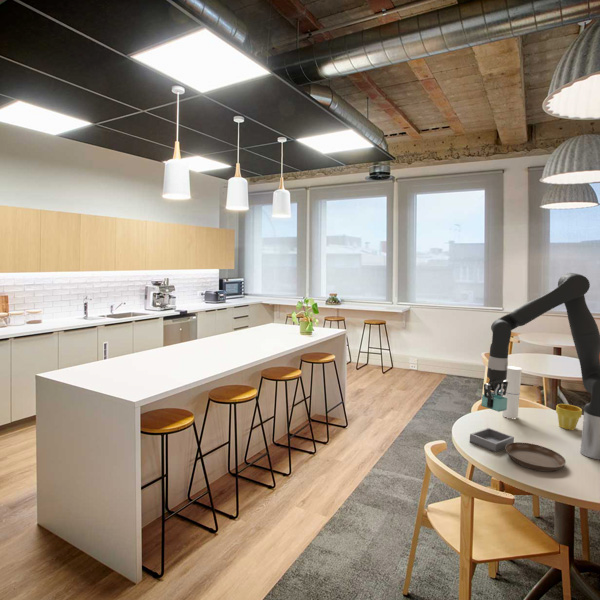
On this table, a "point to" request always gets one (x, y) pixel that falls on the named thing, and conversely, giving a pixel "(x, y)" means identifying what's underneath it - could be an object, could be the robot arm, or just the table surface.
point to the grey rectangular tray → (491, 439)
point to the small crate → (496, 403)
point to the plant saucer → (535, 456)
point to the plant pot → (568, 416)
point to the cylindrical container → (512, 392)
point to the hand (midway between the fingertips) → (494, 406)
